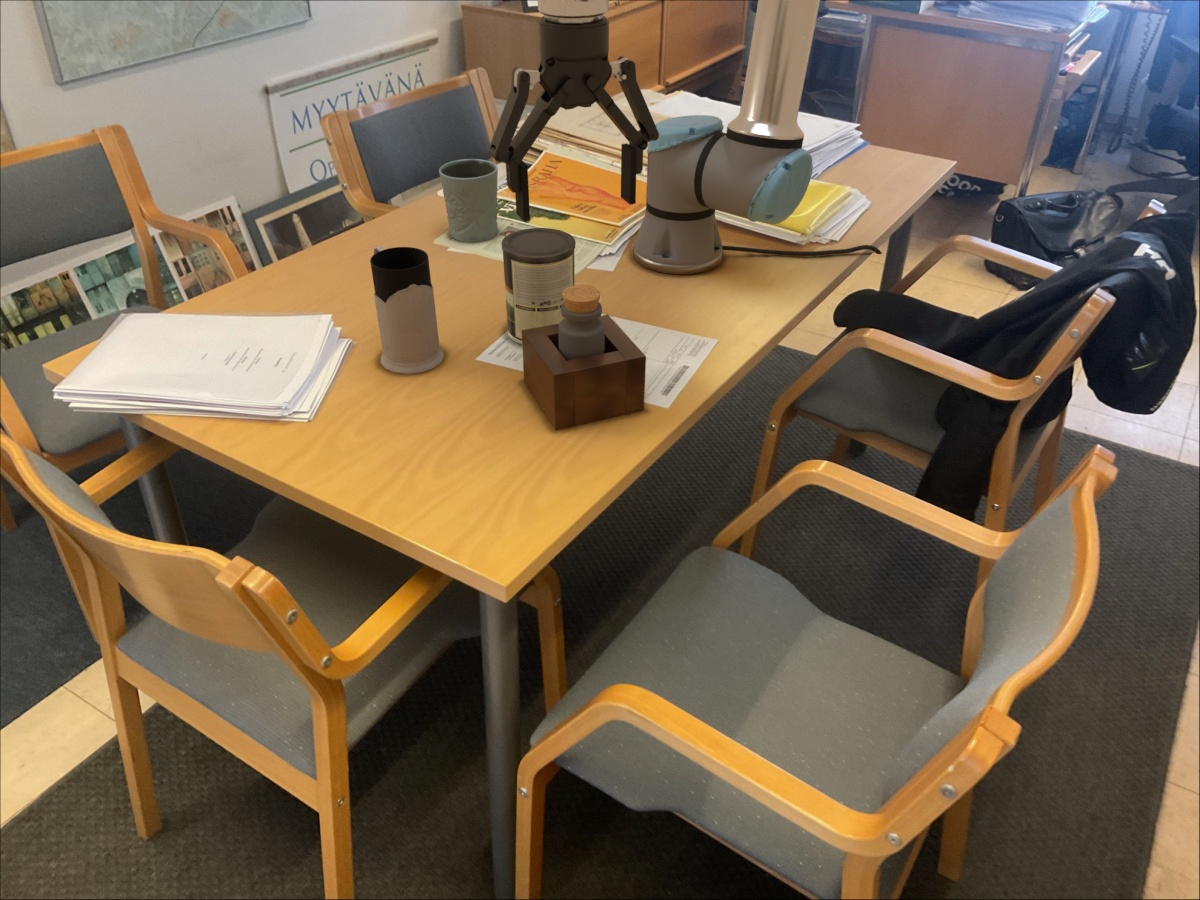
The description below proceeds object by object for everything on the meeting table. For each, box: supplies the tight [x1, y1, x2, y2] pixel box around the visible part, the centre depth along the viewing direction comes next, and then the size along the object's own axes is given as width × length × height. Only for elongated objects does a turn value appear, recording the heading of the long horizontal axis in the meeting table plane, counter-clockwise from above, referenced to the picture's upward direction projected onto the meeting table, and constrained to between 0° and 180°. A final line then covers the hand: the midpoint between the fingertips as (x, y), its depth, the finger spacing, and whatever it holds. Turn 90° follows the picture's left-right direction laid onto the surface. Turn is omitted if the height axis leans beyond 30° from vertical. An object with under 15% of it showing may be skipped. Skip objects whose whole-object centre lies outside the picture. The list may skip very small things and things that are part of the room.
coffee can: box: [501, 227, 577, 346], centre depth 129 cm, size 10×10×14 cm
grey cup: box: [438, 158, 499, 243], centre depth 160 cm, size 10×10×12 cm
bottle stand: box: [521, 314, 647, 431], centre depth 116 cm, size 12×12×8 cm
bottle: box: [558, 284, 605, 361], centre depth 114 cm, size 6×6×15 cm
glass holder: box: [369, 245, 445, 375], centre depth 124 cm, size 9×14×15 cm, turn 32°
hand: (576, 208), depth 108 cm, fingers open, 13 cm apart
